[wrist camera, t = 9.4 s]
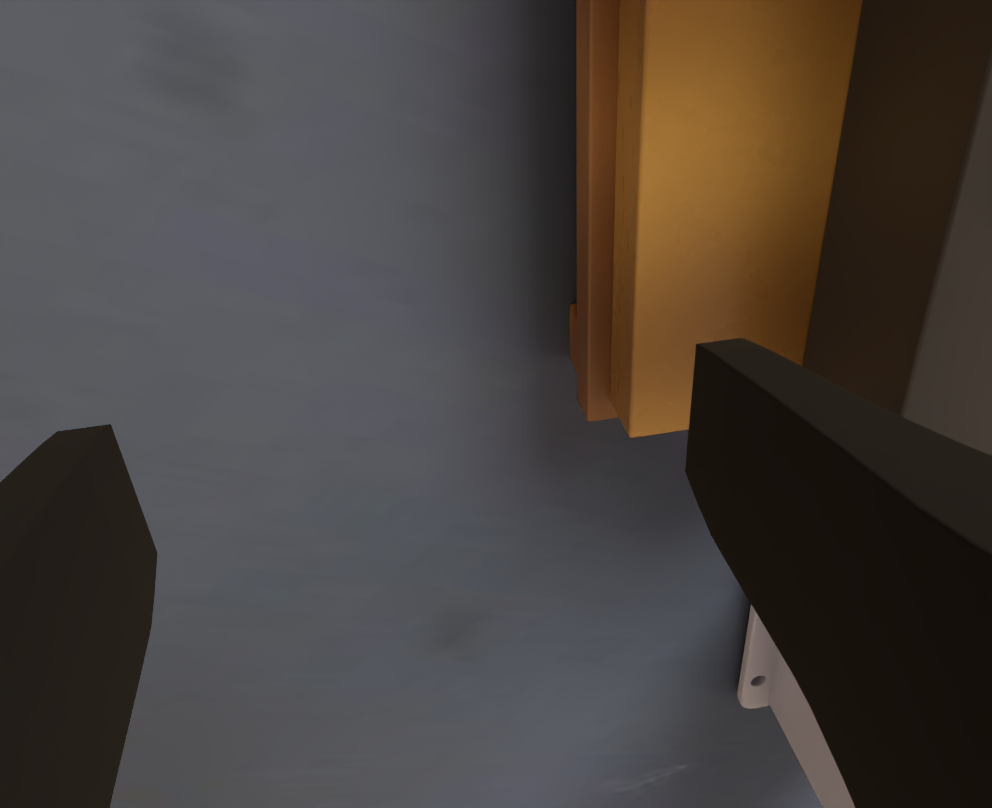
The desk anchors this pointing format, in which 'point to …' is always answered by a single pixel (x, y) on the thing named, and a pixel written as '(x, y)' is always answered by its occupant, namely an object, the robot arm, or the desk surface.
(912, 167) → the remote
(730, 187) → the footstool
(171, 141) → the desk surface
